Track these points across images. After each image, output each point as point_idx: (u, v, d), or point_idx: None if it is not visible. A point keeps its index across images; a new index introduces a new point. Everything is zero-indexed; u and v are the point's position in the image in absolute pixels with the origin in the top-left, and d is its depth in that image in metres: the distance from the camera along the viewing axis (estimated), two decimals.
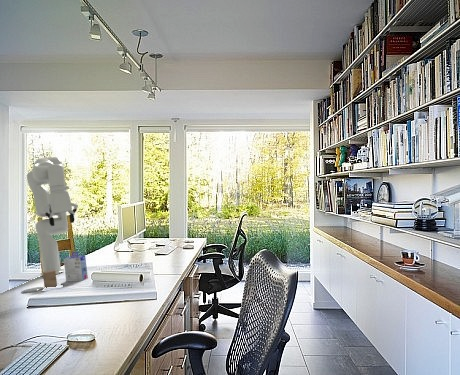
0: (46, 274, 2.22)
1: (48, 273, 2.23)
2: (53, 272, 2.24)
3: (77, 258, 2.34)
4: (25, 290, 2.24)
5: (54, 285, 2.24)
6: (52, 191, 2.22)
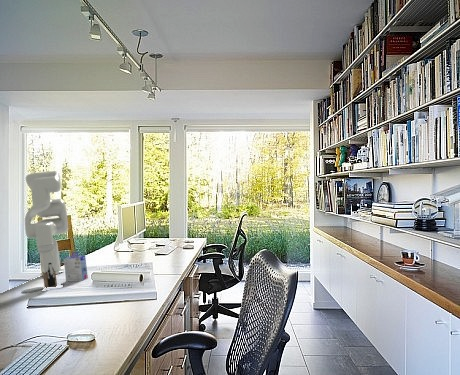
0: (46, 274, 2.22)
1: None
2: (53, 272, 2.24)
3: (77, 258, 2.34)
4: (25, 290, 2.24)
5: None
6: (50, 249, 2.23)
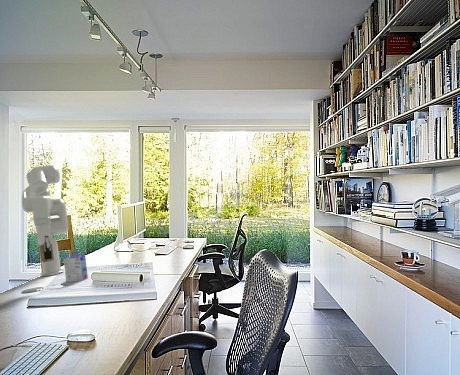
0: (42, 247, 2.22)
1: (45, 246, 2.23)
2: (50, 245, 2.24)
3: (77, 258, 2.34)
4: (25, 290, 2.24)
5: None
6: (47, 222, 2.22)
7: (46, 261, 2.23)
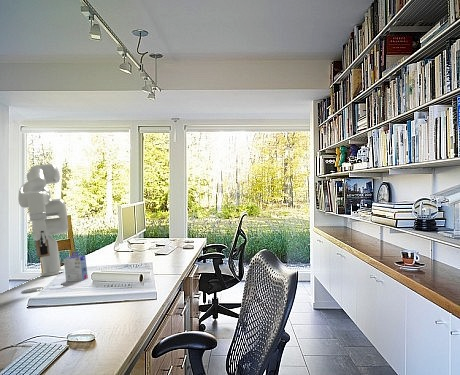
0: (38, 242, 2.21)
1: None
2: None
3: (77, 258, 2.34)
4: (25, 290, 2.24)
5: None
6: (43, 218, 2.22)
7: (42, 256, 2.22)
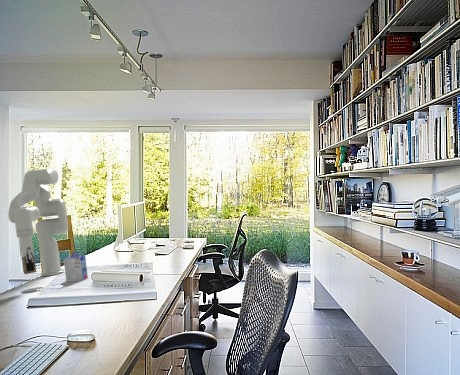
0: (25, 259, 2.20)
1: None
2: (32, 257, 2.22)
3: (77, 258, 2.34)
4: (25, 290, 2.24)
5: None
6: (29, 234, 2.21)
7: (28, 273, 2.20)
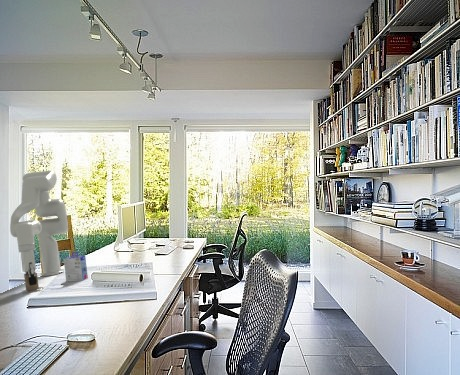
0: (27, 276, 2.20)
1: None
2: None
3: (77, 258, 2.34)
4: (25, 290, 2.24)
5: (35, 287, 2.22)
6: (31, 249, 2.21)
7: (31, 290, 2.21)
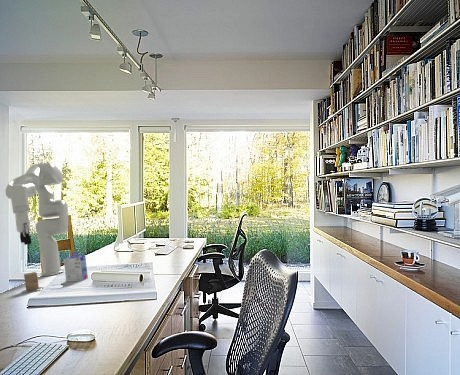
0: (27, 276, 2.20)
1: (29, 275, 2.21)
2: (34, 274, 2.22)
3: (77, 258, 2.34)
4: (25, 290, 2.24)
5: (35, 287, 2.22)
6: (26, 210, 2.26)
7: (31, 290, 2.21)
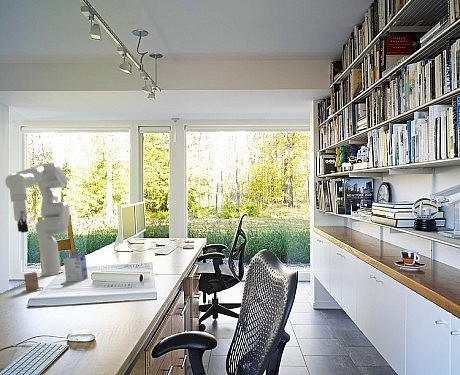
0: (27, 276, 2.20)
1: (29, 275, 2.21)
2: (34, 274, 2.22)
3: (77, 258, 2.34)
4: (25, 290, 2.24)
5: (35, 287, 2.22)
6: (23, 199, 2.31)
7: (31, 290, 2.21)
